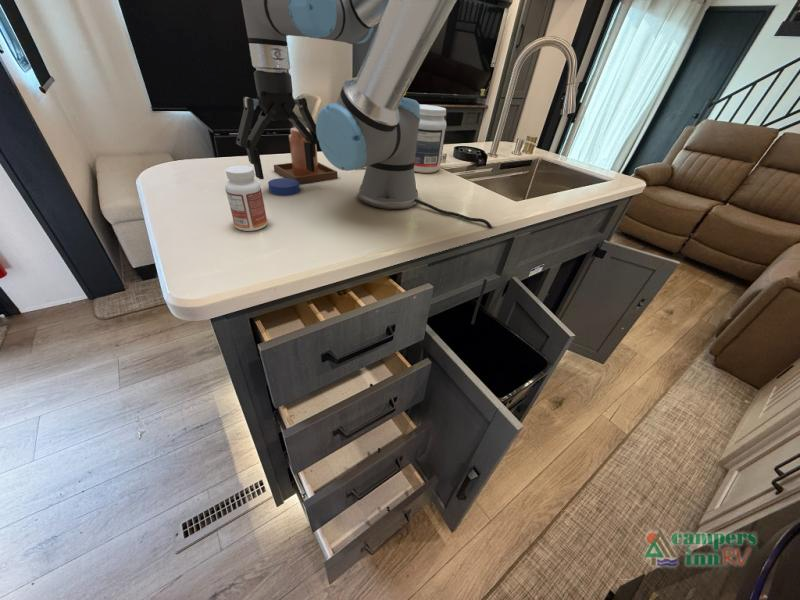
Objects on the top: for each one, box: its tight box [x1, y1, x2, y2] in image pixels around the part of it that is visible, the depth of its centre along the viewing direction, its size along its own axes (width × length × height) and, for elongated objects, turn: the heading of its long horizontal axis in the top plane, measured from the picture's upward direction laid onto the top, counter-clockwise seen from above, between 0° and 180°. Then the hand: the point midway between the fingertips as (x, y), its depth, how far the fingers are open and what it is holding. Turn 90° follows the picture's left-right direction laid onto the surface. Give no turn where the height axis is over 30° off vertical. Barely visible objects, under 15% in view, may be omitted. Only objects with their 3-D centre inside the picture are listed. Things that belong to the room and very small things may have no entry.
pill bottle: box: [224, 165, 268, 232], centre depth 62 cm, size 6×6×11 cm
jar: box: [288, 126, 319, 176], centre depth 91 cm, size 7×7×12 cm
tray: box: [273, 161, 339, 185], centre depth 94 cm, size 13×13×2 cm
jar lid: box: [267, 177, 301, 196], centre depth 82 cm, size 8×8×2 cm
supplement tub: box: [414, 103, 447, 174], centre depth 105 cm, size 13×13×18 cm
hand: (286, 174), depth 81 cm, fingers open, 13 cm apart
